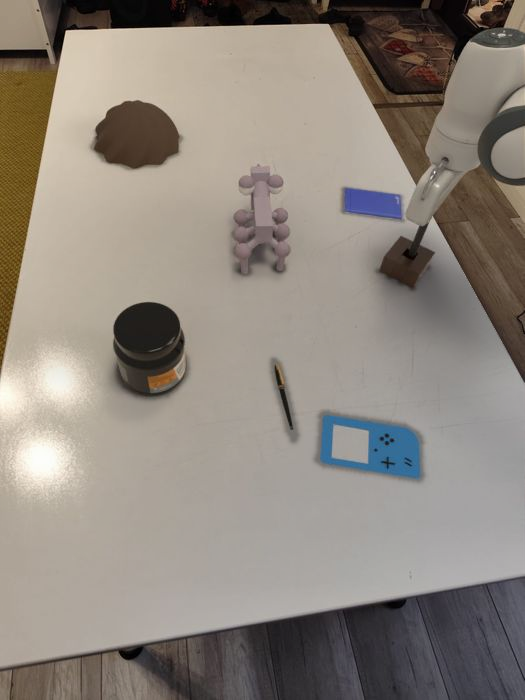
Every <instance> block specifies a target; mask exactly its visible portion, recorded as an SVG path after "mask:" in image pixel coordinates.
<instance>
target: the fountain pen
mask: <svg viewBox="0 0 525 700" xmlns="http://www.w3.org/2000/svg"><path fill="white" fill-rule="evenodd" d="M274 374H275V380H276V384H277V389H278V390H279V394H280V398H281V401H282V405H283V409H284V413H285V415H286V420H287V422H288V425H289V430H291V431H292V430H294V426H293V421H292V420H293V419H292V416H291V410H290V407H289V402H288V398H287V394H286V390H285V381H284V378H283V375H282V372H281V368H280V366H279V364H274Z"/></svg>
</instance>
